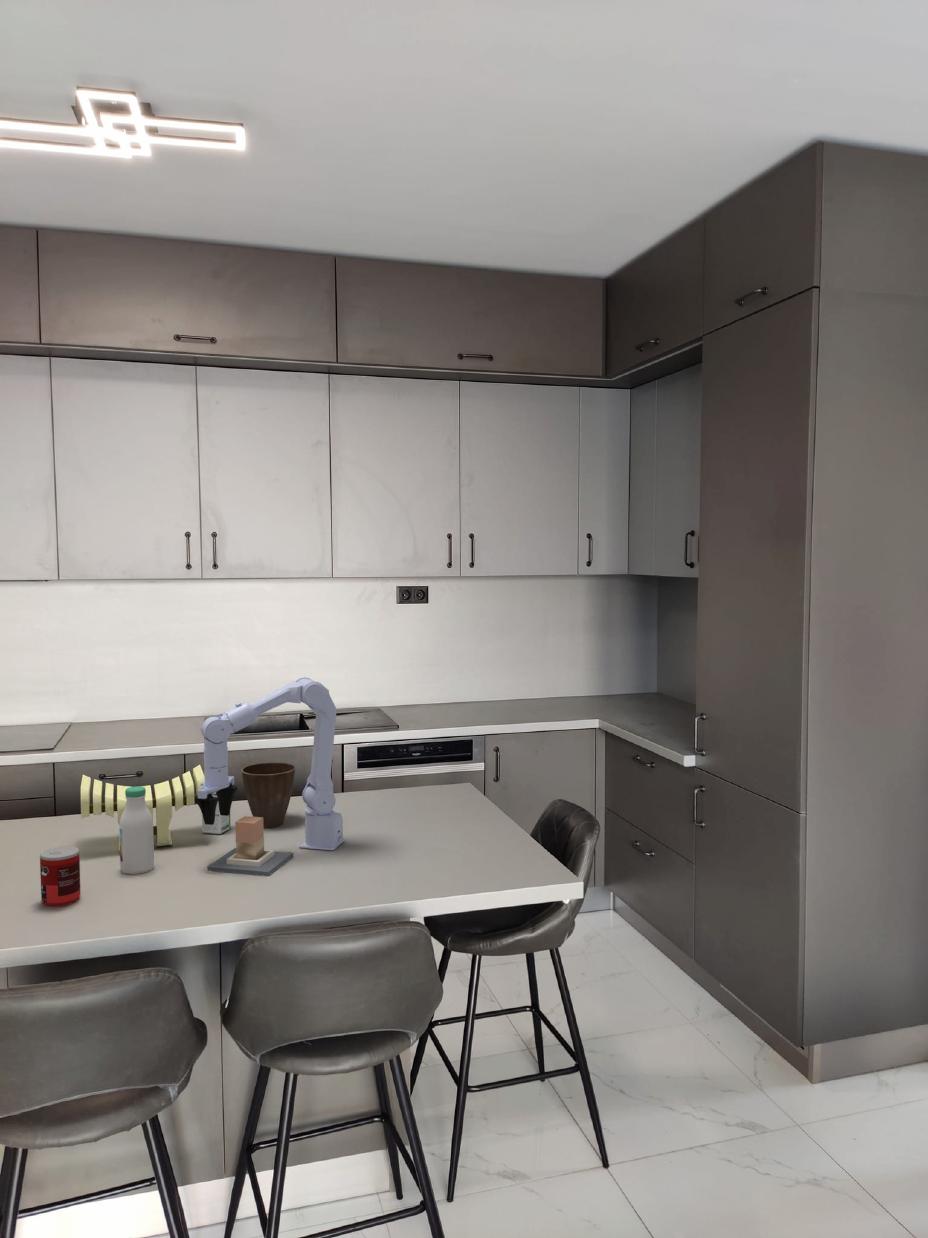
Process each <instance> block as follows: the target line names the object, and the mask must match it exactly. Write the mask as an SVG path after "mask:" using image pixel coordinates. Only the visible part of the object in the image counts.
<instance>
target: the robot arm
mask: <svg viewBox="0 0 928 1238" xmlns="http://www.w3.org/2000/svg"><path fill="white" fill-rule="evenodd" d="M286 703H291V704H292V703H293V704H302V703H303V704H305V705H307V706H308V708H309V709H310V710H311V711H312V712H313V713H314V714H315V723H314V724H315V725H314V733H313V744H312V745H313V746H312V754H311V755H312V756H311V757H312V758H311V766H310V767H311V768H310V774H309V775H308V777H307V779H306V785H305V787H304V789H303V790H302V793H301V795H302V796H301V797H302V800H303V802H304V803H305V804H306V807H305V809H304V829H305V830H304V833H305V836H304V838H305V839H304V842H302V843H301V844H300V845H299V848H300V849H308V850H309V849H312V850H321V851H322V850H324V851H335V850H336V849H337V848H338V847H339V846H340V845H341V844H342V843H344V842H345V840H344V829H343V827H344V822H343V821H344V820H343V815H342V813H340V812H337V811H333V810H334V807H335V806H336V802H337V801H336V796H335V794H334V783H333V781H332V778H331V776H332V775H331V774H332V763H333V753H334V742H335V741H334V740H335V731H336V721H337V707H336V705H335V703H334V701H333V699H332V697H331V695H330V690H329V689H328V688H327V687H325V686H324V685H323V684H322V683H321V682H319V681H315V680H312V679H311V678H309V677H306V676H305V677H299V678H298V679H296V681H295V680H292V681H290V682H288V683H286V684H285V685H284V686H282V687H280V688H278V689H276V690H274V691H272V692H271V693H269V694H267V695H265V696H264V697H262V698H260V699H258V700H256V701H254V702H253V703H250V702H246V701H244V702H242V703H241V702H236V703H235V706H234V707H231V709H228V710H226V711H224V712H222V711H220V712H217V716H210V717H208V718H206V719H205V720H204V721H203V723H202V726H201V728H200V732H201V734H202V736H203V737H204V738H203V739H204V741H203V746H204V747H203V768H204V769H203V774H204V781H205V782H202V783H201V786H202V787H201V789H200V790H198V796H196V797H195V801H196V802H197V803H196V804H197V806H198V808H199V809H200V812H201V816H202V815H203V819H204V822H205V824H207V825H213V824H214V821H215V811H216V806H217V803H219V811H220V815H223V816H228V815H229V813H230V814H231V809H232V805H233V800H234V798H235V794H236V792H237V791H238V786H237V785H235V776H233V775H232V776H231V775H229V755H228V754H229V751H228V750H229V747H228V739H229V737H230V735H231V734H232V735H234V734H235V733H237V732H239V731H241V730H243V729H244V728H247V727H249V726H250V725H253V724H255V723H256V721H257V718H258V717H259V716H260V715H262V714H264V713H266V712H269V711H270V710H272V709H275V708H277V707H279V706H281V705H284V704H286ZM215 792H216V794H217V797H213V796H212V794H213V793H215Z"/></svg>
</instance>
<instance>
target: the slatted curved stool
mask: <svg viewBox="0 0 928 1238" xmlns="http://www.w3.org/2000/svg"><path fill="white" fill-rule="evenodd" d="M192 776H193V778H192ZM91 780H92V779H91V777H90V776H87V775H85V774H82V778H81V782H80V783H81V784H80V817H81V819H85V818H87V817H90V814H93V816H97V815H98V816H99V815H100V816H101V815H102V813H105V816H109V817H111V818H115V812H117V824H118V825H119V826H118V827H120V819H121V816H122V813H123V811H124V809H125V806H126V801H127V799H126V798H125V797H126V795H125V790H126V789H127V788H130V787H132V786H129V785H126V786H125V785H120V784H119V785H118V784H117V785H116V787H117V788H116V796H117V797H116V801H114V799H115V798H114V797H115V796H114V793H115V791H114V786H115V785H114V783H110V782H105V790H104V791H105V792H104V802H102V801H103V800H102V799H103V781H101V780H99V779H95V778H94V780H93V787H91V785H92V781H91ZM193 780H194V781H193ZM182 782H183V786H182V783H181V780H180V775H179V776H177V777H173V778H172V779H171V784H172V789H173V790H172V791H173V795H172V791H171V785H170V782H169V780H166V781H163V782H160V783H156V784H155V783H154V784H153V789H154V797H153V794H152V788H151V785H143V786H142V785H140V786H141V787H145V789H146V794H145V795H146V796H145V802H146V805H147V807H148V809H149V811H150V813H151V816H152V820H153V821H154V809H153V808H155V815H156V817H155V819H156V821H155V822H156V825H155V824H154V825H153V836H155V839H156V845H157V846H156V847H163V846H172V845H173V842H172V837H171V831H170V829H169V827H170V825H171V824H170V823H171V820H172V818H173V806H174V809H175V810H174V811H175V812H177V811H179V810H180V809H182V808H184V805H186V806H187V807H189V806H195V804H197V802H196V801H195V797H196V796H198V790H200V789H201V787H202V786H201V783H202V782H205V781H204V770H203V769H202V766H201V764H198V765H197V766H195V767H193V768H192V775H191V772H190V770H189V771H187V772H185V773H183V774H182ZM91 788H93V789H92V803H91ZM183 788H184V793H183ZM195 788H196V789H195ZM195 791H196V793H195ZM118 851H119V852H120V834H118Z"/></svg>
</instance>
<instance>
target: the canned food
mask: <svg viewBox="0 0 928 1238" xmlns="http://www.w3.org/2000/svg"><path fill="white" fill-rule="evenodd" d="M80 860H81V858H80V850H79V848H78V847H76V846H70V845H69V846H67V845H66V846H64V845H63V846H56V847H52V848H48V849H46V850H43V851H42V852H41V853H40V854H39V866H40V867H39V868H40V869H39V870H40V871H39V874H40V893H41V894H40V895H41V896H40V897H41V902H42V904H43V905H44V906H45V907H52V908H53V907H55V908H56V907H59V908H60V907H64V906H65V907H66V906H68V905H72V904H74V903H76V902H77V901H78V900H79V899H80V898H81V866H80V865H81V863H80V862H81V861H80Z"/></svg>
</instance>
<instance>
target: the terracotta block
mask: <svg viewBox="0 0 928 1238" xmlns="http://www.w3.org/2000/svg"><path fill="white" fill-rule="evenodd" d="M234 825H235V831H234V832H235V843H236V842H242V843H254V844H255V843H256V842H257V841H259V840H260V839H262V838H263V837H264V831H265V829H264V828H265V827H263V817H253V816H249V815H245V816H243V817H241V818H240V819H237V821H235V824H234ZM264 838H265V837H264Z"/></svg>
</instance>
